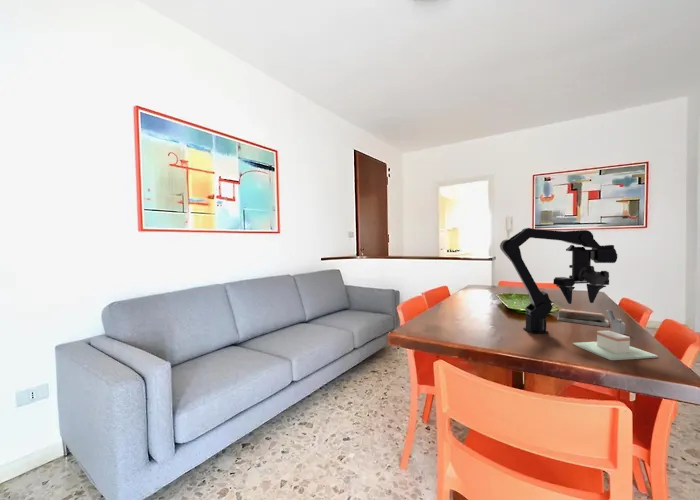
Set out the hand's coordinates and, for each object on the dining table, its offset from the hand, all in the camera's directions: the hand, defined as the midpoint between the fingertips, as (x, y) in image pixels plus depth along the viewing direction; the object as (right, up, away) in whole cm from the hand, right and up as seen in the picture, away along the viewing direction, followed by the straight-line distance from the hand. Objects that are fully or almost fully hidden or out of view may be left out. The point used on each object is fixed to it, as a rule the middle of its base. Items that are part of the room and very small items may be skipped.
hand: (580, 303), depth 118 cm
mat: (-2, -13, -17) cm, 21 cm away
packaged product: (+15, -12, +19) cm, 26 cm away
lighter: (+16, -12, +3) cm, 20 cm away
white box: (-2, -12, -17) cm, 21 cm away
